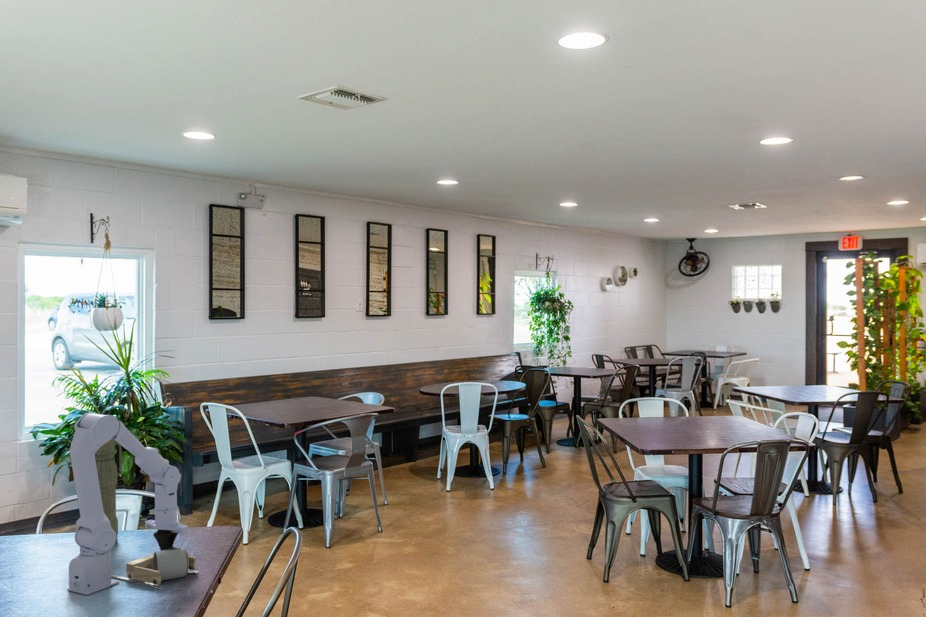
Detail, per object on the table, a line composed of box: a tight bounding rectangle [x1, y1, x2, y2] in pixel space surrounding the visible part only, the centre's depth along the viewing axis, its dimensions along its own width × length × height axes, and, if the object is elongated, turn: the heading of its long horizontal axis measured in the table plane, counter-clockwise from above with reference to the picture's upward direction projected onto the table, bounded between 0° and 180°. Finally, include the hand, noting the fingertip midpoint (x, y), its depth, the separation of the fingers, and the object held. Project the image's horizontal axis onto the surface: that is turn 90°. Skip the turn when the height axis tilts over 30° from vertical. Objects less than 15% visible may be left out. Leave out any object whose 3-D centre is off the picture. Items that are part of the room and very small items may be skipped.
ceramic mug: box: [153, 548, 189, 582], centre depth 202 cm, size 11×8×8 cm
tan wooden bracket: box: [125, 546, 197, 585], centre depth 203 cm, size 15×12×4 cm
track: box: [111, 570, 199, 589], centre depth 203 cm, size 13×23×1 cm, turn 63°
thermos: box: [95, 439, 123, 545], centre depth 230 cm, size 9×12×35 cm
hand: (166, 556), depth 212 cm, fingers closed
